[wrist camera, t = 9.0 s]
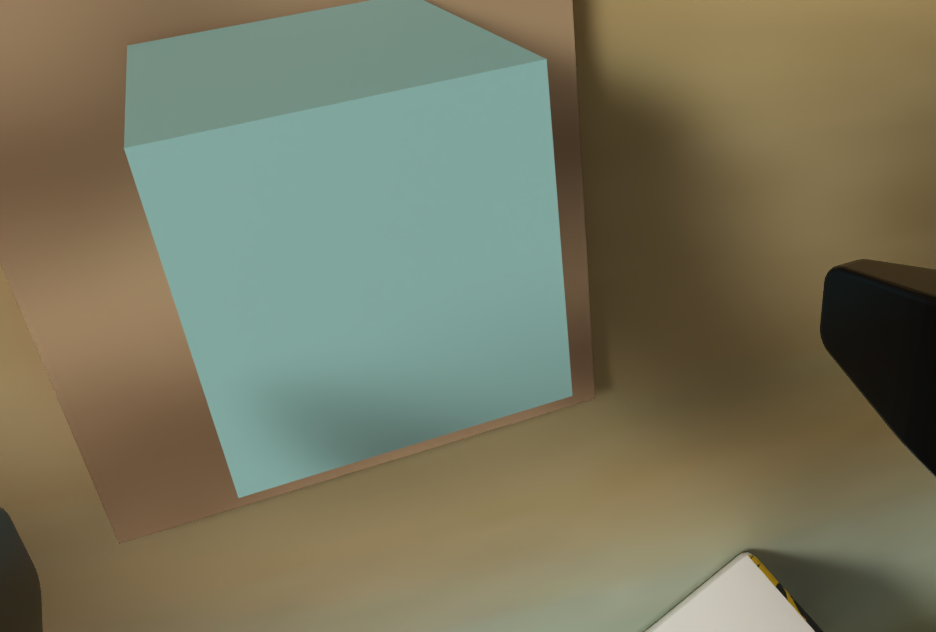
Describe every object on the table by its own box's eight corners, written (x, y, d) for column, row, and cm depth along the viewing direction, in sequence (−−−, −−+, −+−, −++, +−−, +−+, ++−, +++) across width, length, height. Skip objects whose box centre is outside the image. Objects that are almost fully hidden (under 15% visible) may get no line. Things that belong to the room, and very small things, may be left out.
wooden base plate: (581, 383, 24) (731, 557, 18) (119, 521, 21) (114, 781, 15) (533, -359, 16) (773, -492, 10) (-219, -292, 13) (-511, -418, 7)
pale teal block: (445, 241, 19) (572, 395, 14) (206, 302, 18) (238, 498, 13) (408, -8, 17) (547, 58, 11) (126, 45, 16) (124, 148, 10)
